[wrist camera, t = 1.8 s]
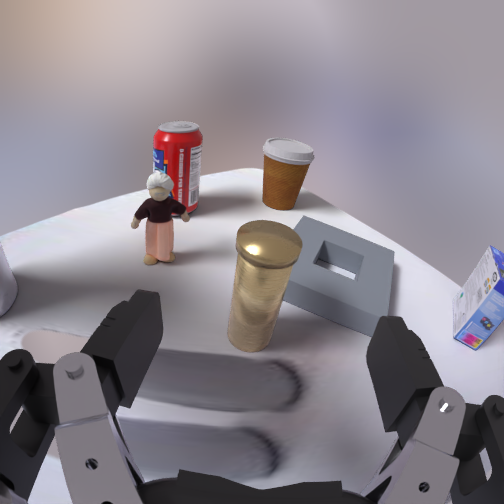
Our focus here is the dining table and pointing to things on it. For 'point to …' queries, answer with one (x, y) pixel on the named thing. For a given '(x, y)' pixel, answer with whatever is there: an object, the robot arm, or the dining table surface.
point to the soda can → (179, 160)
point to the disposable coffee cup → (284, 171)
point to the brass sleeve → (260, 281)
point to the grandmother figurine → (159, 219)
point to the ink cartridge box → (480, 301)
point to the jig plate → (341, 277)
